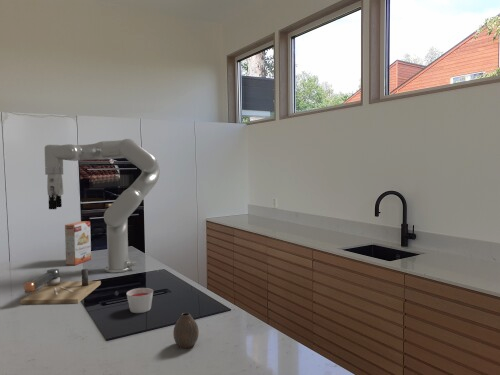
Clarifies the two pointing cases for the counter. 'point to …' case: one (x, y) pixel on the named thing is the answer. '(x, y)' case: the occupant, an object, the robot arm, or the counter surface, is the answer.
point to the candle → (140, 299)
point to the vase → (185, 331)
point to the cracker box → (77, 242)
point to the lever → (41, 280)
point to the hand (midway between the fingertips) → (55, 208)
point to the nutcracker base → (62, 291)
